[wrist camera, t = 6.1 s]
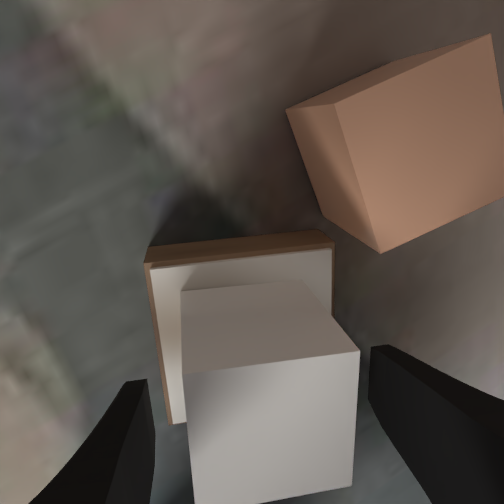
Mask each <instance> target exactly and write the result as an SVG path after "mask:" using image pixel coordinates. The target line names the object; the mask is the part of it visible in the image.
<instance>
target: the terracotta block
mask: <svg viewBox="0 0 504 504" xmlns="http://www.w3.org/2000/svg"><path fill="white" fill-rule="evenodd" d="M285 111H286V114H287V116H288V119H289V122H290V125H291V128H292V130H293V133H294V136H295V139H296V142H297V144H298V147H299V150H300V153H301V156H302V158H303V161H304V164H305V167H306V170H307V172H308V175H309V178H310V181H311V184H312V186H313V189H314V192H315V195H316V198H317V200H318V203H319V206H320V209H321V212H322V214H323V216H324V217H325V218H327V219H328V220H330V221H331V222H333V223H334V224H336V225H337V226H339V227H340V228H342V229H343V230H345V231H346V232H348V233H349V234H351V235H352V236H354V237H356V238H357V239H359V240H360V241H362V242H363V243H365V244H366V245H368V246H369V247H371V248H372V249H374V250H375V251H377V252H378V253H380V254H382V253H384V252H386V251H388V250H391V249H393V248H395V247H397V246H399V245H401V244H404V243H406V242H408V241H410V240H412V239H414V238H416V237H419V236H421V235H423V234H425V233H427V232H429V231H432V230H434V229H436V228H438V227H440V226H442V225H445V224H447V223H449V222H451V221H453V220H455V219H457V218H460V217H462V216H464V215H466V214H468V213H470V212H473V211H475V210H477V209H479V208H481V207H483V206H486V205H488V204H490V203H492V202H494V201H496V200H498V199H501V198H503V197H504V112H503V106H502V100H501V94H500V87H499V81H498V75H497V68H496V62H495V56H494V49H493V43H492V37H491V33H490V34H487V35H483V36H480V37H476V38H473V39H469V40H466V41H462V42H459V43H455V44H452V45H448V46H445V47H441V48H438V49H434V50H431V51H427V52H424V53H420V54H417V55H413V56H410V57H406V58H403V59H399V60H396V61H392V62H390V63H388V64H386V65H383V66H381V67H379V68H377V69H375V70H372V71H370V72H368V73H366V74H363V75H361V76H359V77H357V78H354V79H352V80H350V81H348V82H346V83H343V84H341V85H339V86H337V87H334V88H332V89H330V90H328V91H326V92H323V93H321V94H319V95H317V96H314V97H312V98H310V99H308V100H305V101H303V102H301V103H299V104H297V105H294V106H292V107H290V108H288V109H285Z"/></svg>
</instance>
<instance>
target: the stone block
mask: <svg viewBox="0 0 504 504" xmlns="http://www.w3.org/2000/svg"><path fill="white" fill-rule="evenodd" d="M180 307H181V352H182V380H183V390H184V400H185V410H186V420H187V430H188V440H189V450H190V460H191V470H192V480H193V490H194V500H195V504H259V503H264V502H270V501H275V500H280V499H285V498H291V497H296V496H301V495H306V494H311V493H317V492H322V491H327V490H332V489H338V488H343V487H348V486H352V474H353V458H354V442H355V427H356V411H357V395H358V380H359V364H360V350H359V349H358V347H357V346H356V345H355V344H354V343H353V341H352V340H351V339H350V338H349V336H348V335H347V334H346V333H345V332H344V330H343V329H342V328H341V327H340V325H339V324H338V323H337V322H336V321H335V319H334V318H333V317H332V316H331V314H330V313H329V312H328V311H327V310H326V308H325V307H324V306H323V305H322V303H321V302H320V301H319V300H318V299H317V297H316V296H315V295H314V294H313V292H312V291H311V290H310V289H309V288H308V286H307V285H306V284H305V283H304V281H303V280H302V279H301V280H290V281H280V282H270V283H260V284H250V285H240V286H230V287H219V288H209V289H199V290H189V291H180Z"/></svg>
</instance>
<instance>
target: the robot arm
mask: <svg viewBox="0 0 504 504" xmlns="http://www.w3.org/2000/svg"><path fill="white" fill-rule="evenodd" d="M368 400H369V402H370V404H371V406H372V408H373V410H374V413H375V415H376V417H377V418H378V420H379V422H380V424H381V426H382V428H383V429H384V431H385V433H386V434H387V436H388V437H389V439H390V440H391V442H392V443H393V445H394V446H395V448H396V449H397V451H398V452H399V454H400V455H401V457H402V458H403V460H404V461H405V463H406V464H407V466H408V467H409V469H410V470H411V472H412V473H413V475H414V476H415V478H416V479H417V481H418V482H419V484H420V485H421V487H422V488H423V490H424V491H425V493H426V495H427V496H428V498H429V499H430V501H431V503H432V504H504V400H502V399H499V398H496V397H494V396H492V395H489V394H487V393H485V392H482V391H480V390H478V389H476V388H474V387H472V386H469V385H467V384H465V383H463V382H461V381H459V380H457V379H455V378H453V377H451V376H449V375H447V374H445V373H443V372H441V371H439V370H437V369H435V368H433V367H431V366H430V365H428V364H426V363H424V362H422V361H420V360H418V359H416V358H414V357H413V356H411V355H409V354H407V353H405V352H403V351H401V350H399V349H397V348H395V347H393V346H391V345H381V346H374V347H371V354H370V371H369V388H368ZM154 466H155V428H154V421H153V415H152V409H151V402H150V396H149V390H148V383H147V379H142V380H135V381H128V382H126V383H125V384H124V385H123V386H122V388H121V389H120V391H119V392H118V394H117V396H116V397H115V399H114V400H113V402H112V403H111V405H110V406H109V408H108V409H107V411H106V412H105V414H104V415H103V417H102V418H101V420H100V421H99V422H98V424H97V425H96V427H95V428H94V429H93V431H92V432H91V434H90V435H89V436H88V438H87V439H86V440H85V441H84V443H83V444H82V445H81V446H80V448H79V449H78V450H77V451H76V453H75V454H74V455H73V456H72V458H71V459H70V460H69V461H68V462H67V464H66V465H65V466H64V467H63V468H62V469H61V471H60V472H59V473H58V474H57V475H56V476H55V477H54V478H53V479H52V480H51V482H50V483H49V484H48V485H47V486H46V487H45V488H44V489H43V490H42V491H41V492H40V493H39V494H38V495H37V496H36V497H35V498H34V499H33V500H32V501H31V502H30V503H29V504H149V503H150V496H151V489H152V481H153V474H154Z"/></svg>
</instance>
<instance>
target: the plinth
mask: <svg viewBox="0 0 504 504" xmlns="http://www.w3.org/2000/svg"><path fill="white" fill-rule="evenodd" d="M144 269H145V276H146V282H147V289H148V295H149V302H150V308H151V314H152V321H153V327H154V334H155V340H156V347H157V353H158V359H159V366H160V372H161V379H162V385H163V392H164V398H165V404H166V411H167V417H168V424H169V425H175V424H181V423H187V420H186V410H185V400H184V390H183V380H182V352H181V307H180V291H189V290H199V289H209V288H219V287H230V286H240V285H250V284H260V283H270V282H280V281H290V280H301V279H302V280H303V281H304V283H305V284H306V285H307V286H308V288H309V289H310V290H311V291H312V292H313V294H314V295H315V296H316V297H317V299H318V300H319V301H320V302H321V303H322V305H323V306H324V307H325V308H326V310H327V311H328V312H329V313H330V314H331V316H332V317H333V318H334V298H335V242H334V241H333V240H331V239H330V238H329V237H327V236H326V235H325V234H323V233H322V232H321V231H319V230H318V229H313V230H303V231H294V232H284V233H275V234H265V235H256V236H246V237H236V238H227V239H217V240H208V241H198V242H189V243H179V244H170V245H160V246H151V247H148V249H147V253H146V256H145V260H144Z"/></svg>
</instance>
